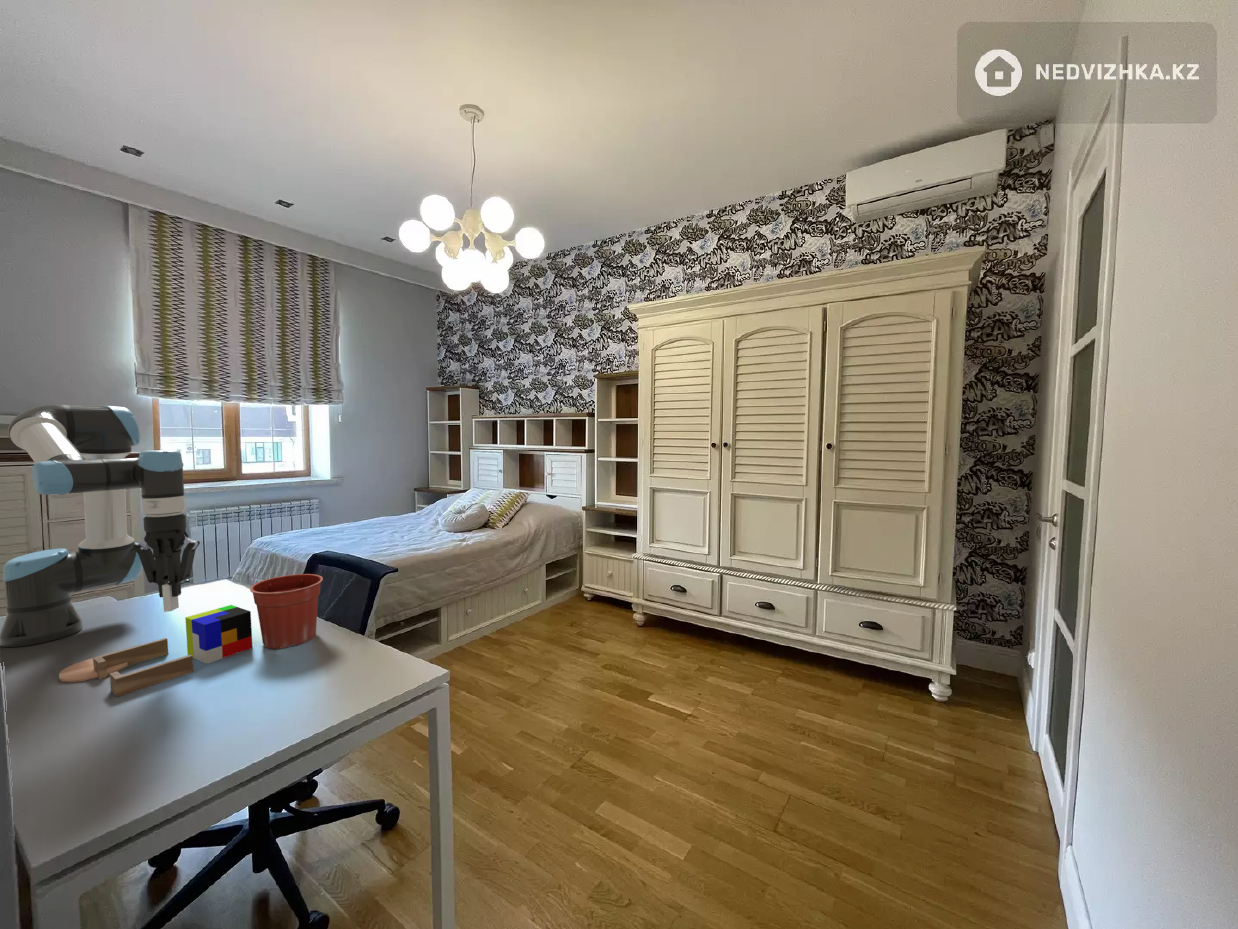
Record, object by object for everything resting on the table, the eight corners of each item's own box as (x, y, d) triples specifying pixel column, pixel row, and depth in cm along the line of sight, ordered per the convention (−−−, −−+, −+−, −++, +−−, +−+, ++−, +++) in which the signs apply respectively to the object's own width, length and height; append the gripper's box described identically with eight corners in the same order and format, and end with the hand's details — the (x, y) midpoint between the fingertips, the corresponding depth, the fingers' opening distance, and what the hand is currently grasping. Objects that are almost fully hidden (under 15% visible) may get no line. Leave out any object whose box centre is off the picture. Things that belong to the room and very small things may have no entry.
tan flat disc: (53, 673, 115) (53, 669, 115) (124, 653, 125) (123, 649, 125) (65, 687, 109) (65, 683, 109) (139, 665, 119) (138, 661, 119)
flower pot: (328, 642, 132) (326, 584, 131) (253, 659, 122) (249, 597, 121) (321, 623, 145) (319, 570, 144) (252, 637, 135) (249, 580, 134)
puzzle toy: (206, 664, 120) (204, 624, 119) (187, 655, 125) (185, 617, 124) (252, 648, 129) (250, 611, 128) (233, 640, 134) (231, 604, 133)
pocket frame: (94, 674, 115) (92, 657, 115) (166, 652, 126) (165, 637, 125) (117, 697, 105) (115, 679, 105) (193, 671, 116) (192, 655, 116)
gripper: (120, 517, 112) (128, 617, 114) (184, 515, 115) (191, 613, 116) (145, 512, 120) (152, 605, 121) (205, 510, 122) (211, 602, 124)
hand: (171, 609), depth 119 cm, fingers closed
